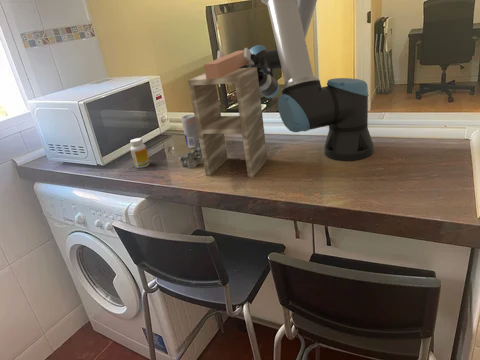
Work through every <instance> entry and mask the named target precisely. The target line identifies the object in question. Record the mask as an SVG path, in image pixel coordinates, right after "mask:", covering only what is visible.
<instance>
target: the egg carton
mask: <svg viewBox="0 0 480 360" xmlns="http://www.w3.org/2000/svg"><path fill="white" fill-rule="evenodd" d="M177 161H180V166H181V167H182V168H184V167H187V168H188V169H192V168H193V169H194V168H196V167H197V165H203V164H204V163H203V158H202V152H201V147H200V146H199V147H197V148H194V149H193V150H191V151H188V152H186V153H185V154H182V155H181V154H180V155H179V156H178V157H177Z"/></svg>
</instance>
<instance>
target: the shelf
mask: <svg viewBox="0 0 480 360" xmlns="http://www.w3.org/2000/svg"><path fill="white" fill-rule="evenodd" d="M187 83H188V84H187V85H188V88H189V94H190V99H191V103H192V109H193V115H195V121H196V126H197V131H198V137H199V142H200V146H199V148H201V152H202V158H203V163H202V164H203V167H204V172H205V176H206V177H207V176H209V177H211V175H213V174H214V173H215V172H216V171H217V170H218V169H220V167H221V166H222V165H223V164H224V163H225V162H226V161H227V160H228V151H227V145H226V137H225V135H230V134H231V135H232V134H233V135H236V134H237V135H239V134H241V136H242V143H243V149H244V156H245V164H246V165H245V167H246V173H247V178H251V179H253V178H254V177H255V175H256V174H257V173H258V172H259V171H260V169H261V168H262V167H263V166H264V165H265V163H266V162H267V161H268V152H267V145H266V144H267V143H266V135H265V127H264V119H263V109H262V99H261V94H260V90H259V81H258V72H257V67H251V68H238V69H237V70H235V71H233V72H231V73H229V74H227V75H225V76H223V77H221V78H218V79H206V74H205V72H204V73H201V74H199V75H197V76H195V77H193V78H190V79H188V80H187ZM224 84H234V86H235V94H236V99H237V108H238V114H239V115H222V114H221V107H220V100H219V95H218V89H217V85H224Z"/></svg>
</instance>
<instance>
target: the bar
mask: <svg viewBox="0 0 480 360" xmlns="http://www.w3.org/2000/svg"><path fill="white" fill-rule="evenodd" d="M249 63H250V62H249V61H248V60H247V59H246V58H244V49H243V50H240V49H239V50H236V51H233V52H231V53H229V54H227V55H226V56H223V57H221V58H219V59H217V58H216V59H214V60H212V61H209V62H207V63H205V64H203V69H204V73H205V74H206V79H218V78H221V77H223V76H225V75H227V74H229V73H231V72H233V71H235V70H237V69H238V68H240V67H242V66H244V65H248V64H249Z"/></svg>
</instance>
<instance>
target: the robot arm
mask: <svg viewBox="0 0 480 360" xmlns="http://www.w3.org/2000/svg"><path fill="white" fill-rule="evenodd" d="M260 2H261V3H262V4H264V5H266V7H267V10H268V15H269V19H270V22H271V23H270V24H271V28H272V33H273V36H274V41H275V45H276V48H275V49H269V50H267V48H266V47H265V45H260V44H258V45H255V46H252V47H251V48H248V47H244V49H243V50H244V58H246V59H247V60H248V61H249V62H250V63H248V64H249V65H248V64H246V65H244V66H242V67H240V68H251V67H257V72H258V81H259V90H260V96H262V97H265V98H267V99H273V98H275V97H276V96H277V95H278V93H279V91H280V90H281V95H279V96H278V99H277V105H278V106H277V110H278V114H279V116H280V119H281V121H282V123H283V125H284V127H285V128H287V130H288V131H290V132H292V133H300V132H308V131H310V130H315V129H319V128H324V127H328V133H327V137H326V140H325V143H324V149H323V150H324V152H323V153H324V155H325V156H326V157H328V158H330V159H332V160H336V161H345V162H346V161H357V160H362V159H365V158H368V157H369V156H371V155H372V154H374V142H373V139H372V136H371V134H370V131H369V125H368V121H369V119H368V114H369V110H368V109H369V101H368V99H369V98H368V97H369V89H368V84H367V82H366V81H365V80H363V79H358V78H352V77H351V78H349V77H345V78H344V77H338V78H335V77H334V78H331V79H328V80H327V83H326V86H322V84H321V80H320V79H319V78H318V77H316V76H315V75H314V73H313V68H312V65H311V63H312V62H311V59H310V55H309V50H308V45H307V41H306V38H307V34H308V30H309V28H310V25H311V22H312V18H313V14H314V12H315V8H316V5H317V2H318V0H260ZM216 55H217V57H216V59H219V58H221V57H223V56H226V55H225V53H223V52H222V51H221V50H217V54H216ZM280 69H281V72H282V75H283V76H282V78H283V81H284V84H283V86H282V88H281V89H280V84H279V83H278V81H277V80H276V78H275V77H276V76H275V75H274V73H273V72H274V71H275V70H280Z"/></svg>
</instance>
